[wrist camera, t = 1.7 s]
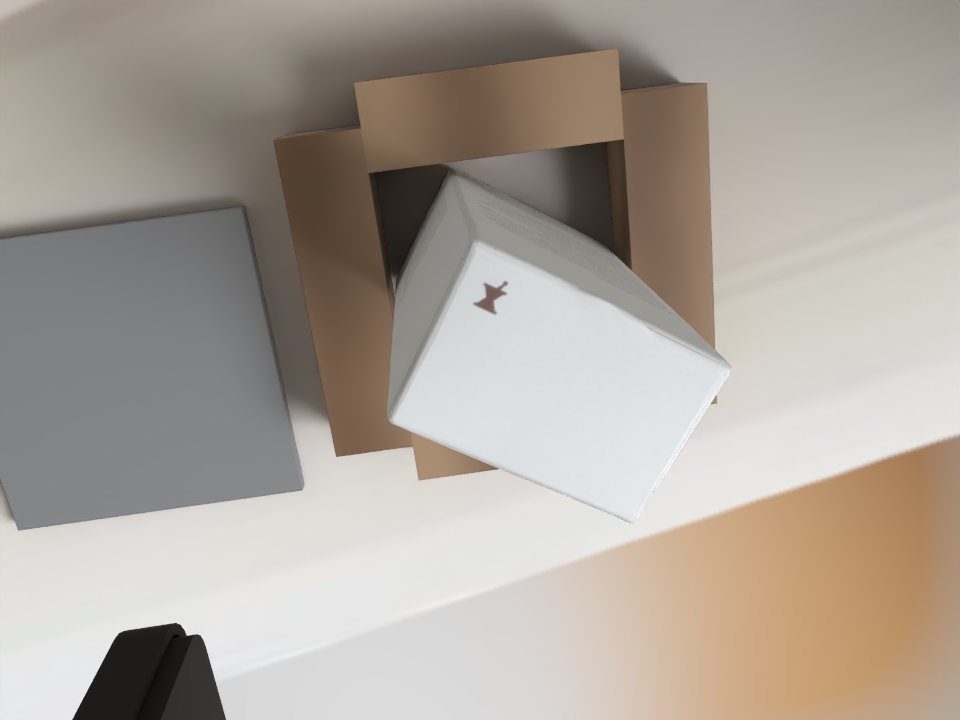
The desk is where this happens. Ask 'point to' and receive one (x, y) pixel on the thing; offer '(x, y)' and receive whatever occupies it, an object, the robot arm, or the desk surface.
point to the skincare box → (542, 352)
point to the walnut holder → (471, 135)
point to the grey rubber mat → (138, 371)
